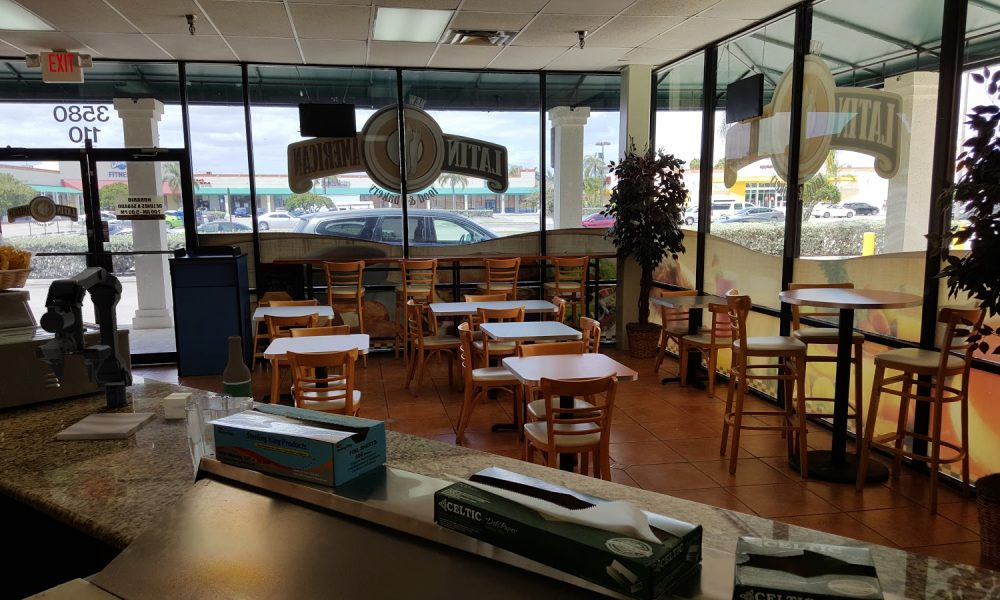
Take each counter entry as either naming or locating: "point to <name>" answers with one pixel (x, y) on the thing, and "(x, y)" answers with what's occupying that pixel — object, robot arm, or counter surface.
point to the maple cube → (177, 404)
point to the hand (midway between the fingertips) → (76, 382)
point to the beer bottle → (236, 371)
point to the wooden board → (107, 426)
